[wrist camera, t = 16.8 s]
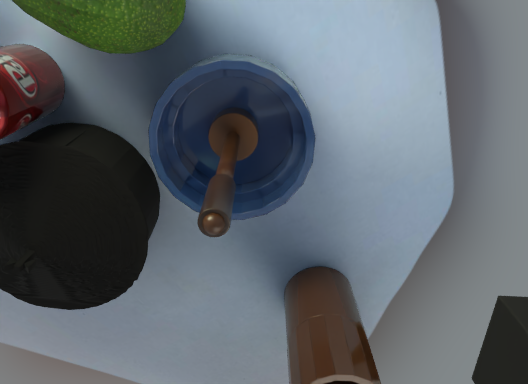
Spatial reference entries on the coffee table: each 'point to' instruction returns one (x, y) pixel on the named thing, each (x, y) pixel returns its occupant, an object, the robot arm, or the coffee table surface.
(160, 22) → the fruit
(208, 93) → the bowl
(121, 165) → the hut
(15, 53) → the soda can
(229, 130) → the wooden pestle
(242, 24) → the coffee table surface
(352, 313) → the crock
